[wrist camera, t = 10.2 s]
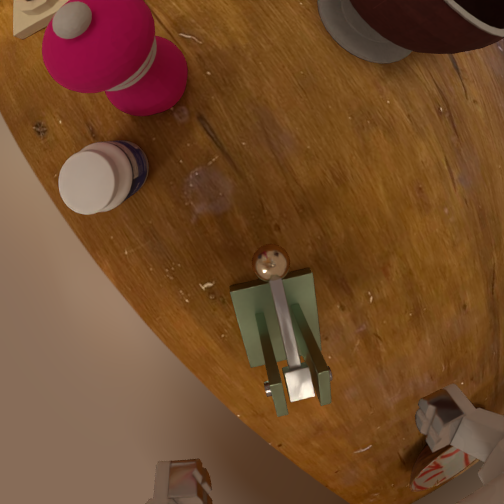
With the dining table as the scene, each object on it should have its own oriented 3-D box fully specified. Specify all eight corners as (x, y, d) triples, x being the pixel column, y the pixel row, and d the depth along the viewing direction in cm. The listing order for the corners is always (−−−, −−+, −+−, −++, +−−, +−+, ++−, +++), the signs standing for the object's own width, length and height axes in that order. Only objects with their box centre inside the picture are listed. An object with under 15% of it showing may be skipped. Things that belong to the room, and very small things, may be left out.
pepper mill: (205, 92, 27) (182, 20, 9) (142, 132, 28) (29, 134, 9) (169, 37, 25) (110, -76, 6) (108, 77, 26) (-18, 24, 7)
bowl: (393, 480, 60) (403, 502, 52) (402, 435, 51) (417, 463, 43) (470, 439, 60) (483, 458, 52) (493, 384, 51) (511, 405, 43)
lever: (248, 251, 30) (247, 245, 27) (283, 243, 30) (286, 236, 27) (281, 394, 28) (284, 405, 25) (316, 386, 28) (323, 395, 25)
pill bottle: (111, 205, 30) (72, 234, 21) (88, 157, 28) (40, 168, 19) (159, 180, 30) (134, 200, 21) (136, 129, 28) (100, 128, 19)
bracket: (229, 285, 35) (236, 361, 23) (309, 267, 35) (351, 332, 23) (249, 360, 39) (262, 440, 27) (318, 344, 39) (351, 417, 27)
